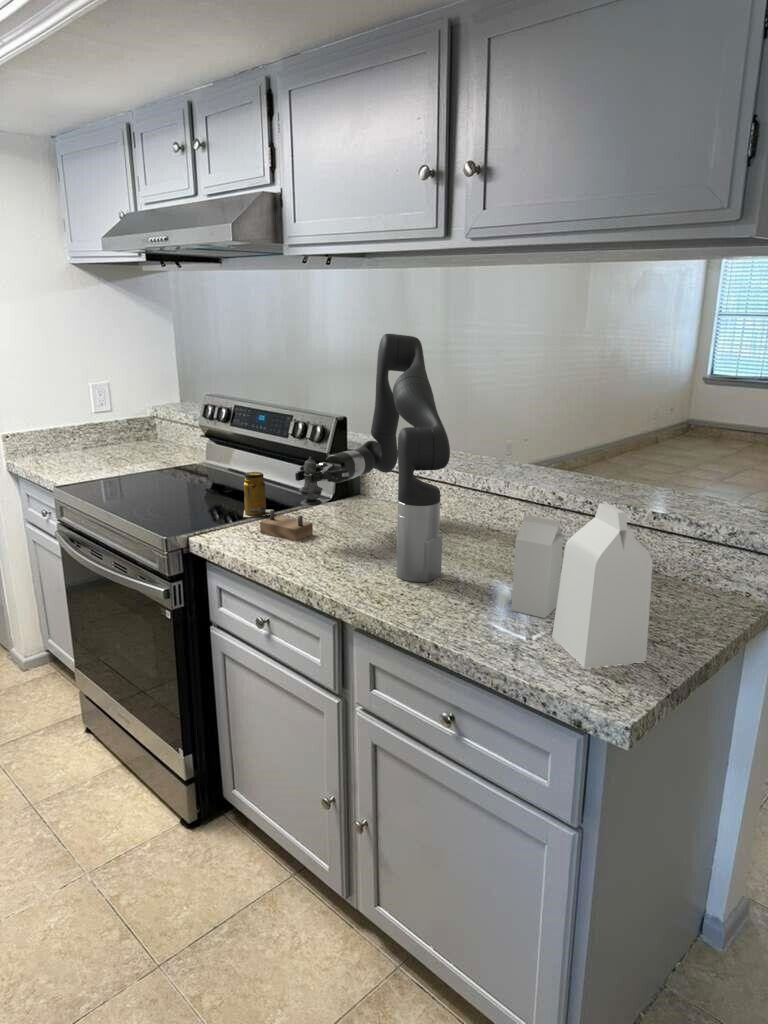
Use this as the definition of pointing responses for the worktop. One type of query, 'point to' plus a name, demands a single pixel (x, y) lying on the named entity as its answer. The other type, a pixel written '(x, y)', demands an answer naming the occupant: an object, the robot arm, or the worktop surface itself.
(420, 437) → the robot arm
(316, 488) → the salt shaker
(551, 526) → the milk carton
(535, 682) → the worktop surface
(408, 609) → the worktop surface
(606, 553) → the milk
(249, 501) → the condiment
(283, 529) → the walnut stand
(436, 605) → the worktop surface
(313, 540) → the worktop surface
